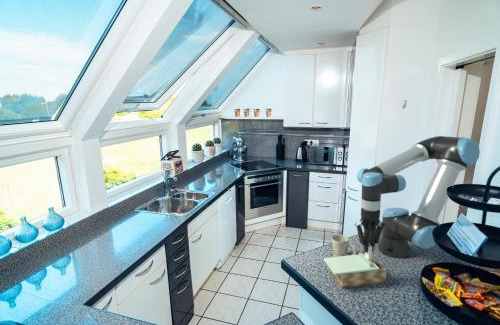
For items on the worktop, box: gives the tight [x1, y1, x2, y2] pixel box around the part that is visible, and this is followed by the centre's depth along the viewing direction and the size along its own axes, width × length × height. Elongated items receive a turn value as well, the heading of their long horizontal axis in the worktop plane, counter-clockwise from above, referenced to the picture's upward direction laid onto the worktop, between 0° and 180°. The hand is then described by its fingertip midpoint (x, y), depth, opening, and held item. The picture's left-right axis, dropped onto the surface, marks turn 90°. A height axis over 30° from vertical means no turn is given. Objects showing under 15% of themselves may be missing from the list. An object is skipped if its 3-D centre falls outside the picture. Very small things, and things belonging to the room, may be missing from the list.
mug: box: [331, 234, 357, 257], centre depth 135 cm, size 8×13×10 cm, turn 51°
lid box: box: [329, 256, 387, 289], centre depth 119 cm, size 20×12×6 cm, turn 96°
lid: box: [323, 252, 379, 275], centre depth 117 cm, size 20×12×2 cm, turn 96°
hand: (368, 258), depth 118 cm, fingers closed
